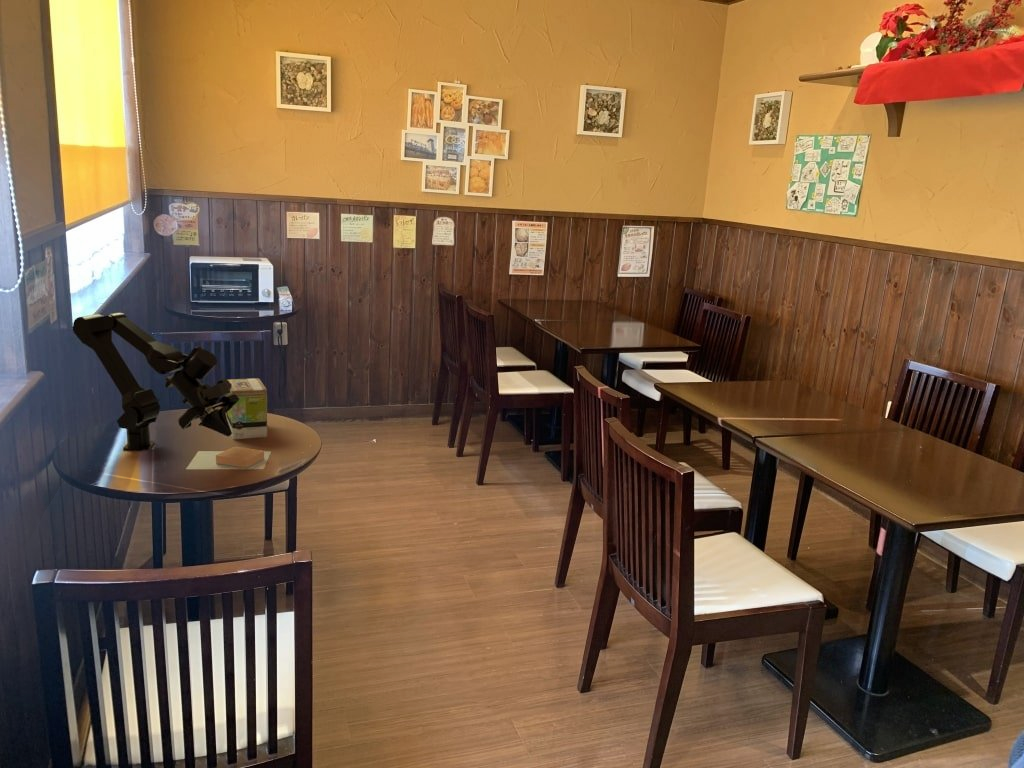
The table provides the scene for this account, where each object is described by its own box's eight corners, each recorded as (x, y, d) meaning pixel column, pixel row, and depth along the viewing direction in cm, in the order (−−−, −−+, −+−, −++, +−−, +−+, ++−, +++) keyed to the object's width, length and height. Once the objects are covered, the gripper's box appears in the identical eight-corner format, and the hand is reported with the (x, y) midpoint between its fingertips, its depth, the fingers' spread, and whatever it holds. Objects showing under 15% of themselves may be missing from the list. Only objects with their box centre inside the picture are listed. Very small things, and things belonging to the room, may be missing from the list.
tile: (215, 455, 200) (246, 460, 198) (234, 446, 208) (264, 451, 205) (216, 464, 201) (246, 469, 198) (234, 454, 208) (264, 459, 206)
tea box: (268, 437, 225) (267, 388, 221) (232, 441, 220) (230, 390, 217) (260, 423, 238) (259, 376, 234) (226, 426, 233) (224, 378, 230)
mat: (198, 452, 209) (198, 451, 209) (271, 452, 213) (271, 451, 212) (185, 470, 196) (185, 469, 196) (263, 470, 199) (263, 469, 199)
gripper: (185, 378, 191) (226, 426, 191) (231, 364, 208) (269, 408, 208) (160, 405, 195) (200, 452, 195) (208, 389, 212) (244, 432, 212)
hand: (230, 435), depth 202 cm, fingers closed
